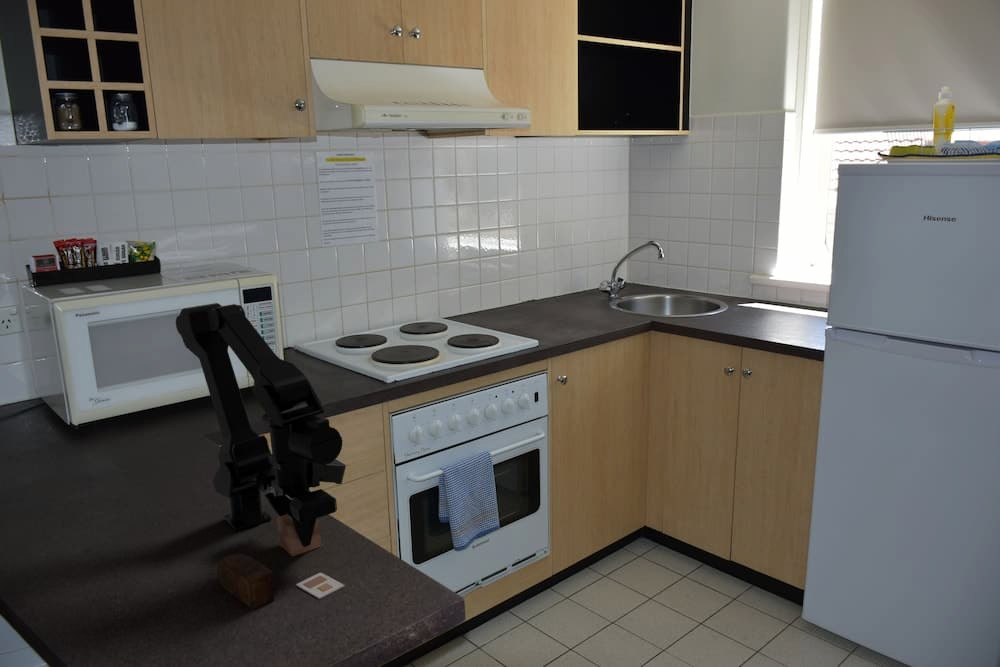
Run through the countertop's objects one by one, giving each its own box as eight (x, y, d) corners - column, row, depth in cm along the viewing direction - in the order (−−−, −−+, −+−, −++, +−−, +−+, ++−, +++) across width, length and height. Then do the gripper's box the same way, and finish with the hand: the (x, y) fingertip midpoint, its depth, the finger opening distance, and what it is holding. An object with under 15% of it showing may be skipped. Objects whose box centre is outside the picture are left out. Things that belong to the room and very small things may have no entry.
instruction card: (295, 585, 114) (295, 583, 114) (320, 573, 117) (320, 571, 117) (319, 599, 110) (319, 597, 110) (344, 586, 113) (344, 584, 113)
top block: (280, 545, 126) (276, 517, 125) (308, 536, 129) (305, 508, 128) (292, 556, 122) (289, 527, 121) (321, 546, 125) (318, 518, 124)
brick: (278, 600, 110) (274, 570, 109) (252, 612, 107) (248, 581, 106) (243, 575, 118) (239, 547, 117) (218, 586, 115) (214, 557, 114)
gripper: (363, 452, 120) (371, 544, 123) (313, 425, 134) (321, 507, 138) (295, 471, 113) (305, 568, 117) (250, 440, 128) (260, 527, 131)
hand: (300, 540), depth 126 cm, fingers closed on top block, 5 cm apart
